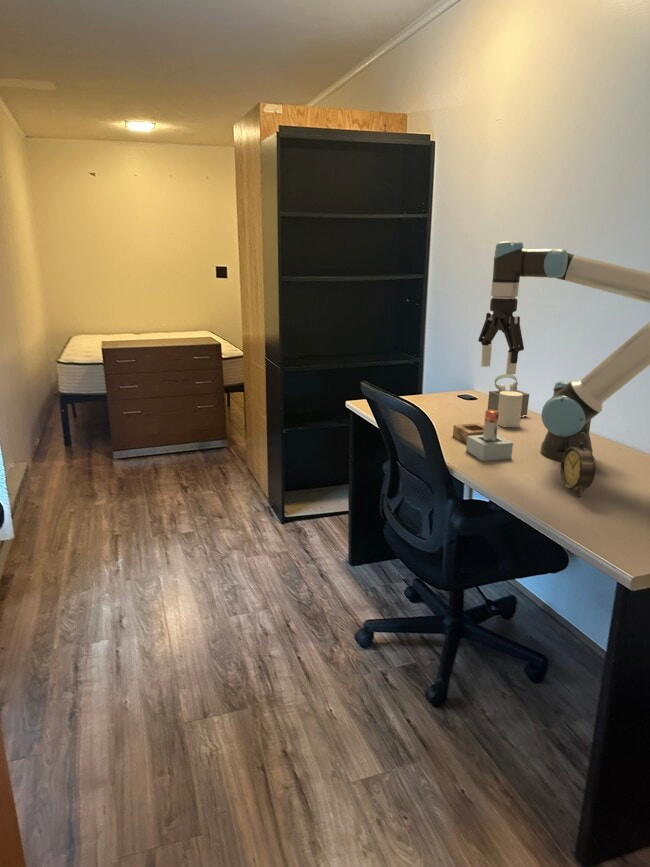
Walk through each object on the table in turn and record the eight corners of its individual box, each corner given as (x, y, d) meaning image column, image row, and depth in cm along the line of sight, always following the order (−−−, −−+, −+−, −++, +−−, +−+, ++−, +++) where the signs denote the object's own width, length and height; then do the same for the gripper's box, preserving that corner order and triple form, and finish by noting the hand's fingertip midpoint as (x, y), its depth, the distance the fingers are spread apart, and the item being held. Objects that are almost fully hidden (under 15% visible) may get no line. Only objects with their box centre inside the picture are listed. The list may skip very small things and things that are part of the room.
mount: (494, 442, 198) (495, 430, 197) (467, 444, 195) (468, 432, 194) (478, 434, 207) (479, 423, 206) (452, 436, 204) (453, 424, 203)
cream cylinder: (520, 428, 215) (524, 396, 211) (497, 427, 216) (501, 395, 212) (517, 422, 222) (521, 391, 219) (495, 421, 223) (498, 390, 220)
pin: (497, 456, 184) (501, 412, 180) (485, 457, 183) (490, 413, 179) (490, 452, 188) (494, 409, 184) (479, 453, 186) (483, 410, 182)
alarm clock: (556, 484, 162) (564, 426, 157) (575, 483, 162) (584, 426, 157) (575, 499, 151) (583, 439, 147) (595, 499, 151) (605, 438, 147)
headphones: (502, 410, 236) (492, 381, 221) (501, 402, 238) (492, 373, 223) (523, 407, 233) (515, 378, 217) (523, 399, 235) (515, 369, 219)
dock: (511, 458, 182) (513, 442, 181) (482, 461, 179) (484, 445, 178) (493, 448, 191) (495, 433, 190) (465, 451, 188) (467, 436, 187)
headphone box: (526, 416, 231) (529, 394, 228) (498, 418, 228) (501, 395, 225) (514, 411, 239) (516, 389, 236) (487, 413, 235) (489, 391, 233)
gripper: (542, 300, 161) (533, 377, 167) (492, 295, 184) (486, 362, 190) (518, 300, 159) (510, 378, 165) (470, 295, 182) (465, 363, 188)
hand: (497, 370), depth 177 cm, fingers open, 13 cm apart
